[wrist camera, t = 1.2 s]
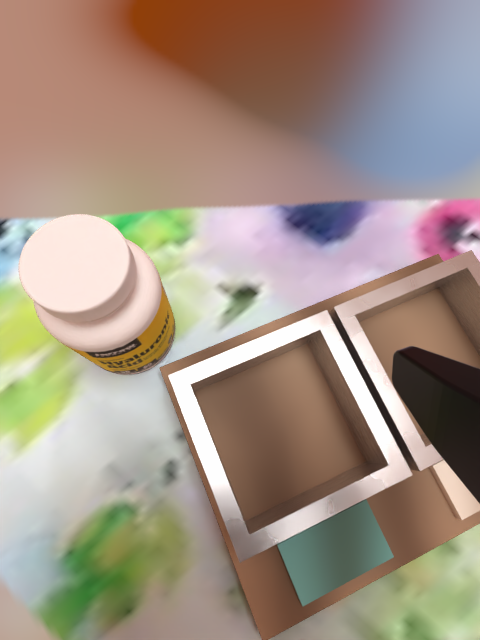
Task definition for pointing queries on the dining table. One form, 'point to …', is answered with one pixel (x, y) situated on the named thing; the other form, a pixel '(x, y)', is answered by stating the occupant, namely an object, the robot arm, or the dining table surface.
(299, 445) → the socket board
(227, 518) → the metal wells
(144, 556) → the dining table surface
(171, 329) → the supplement bottle
